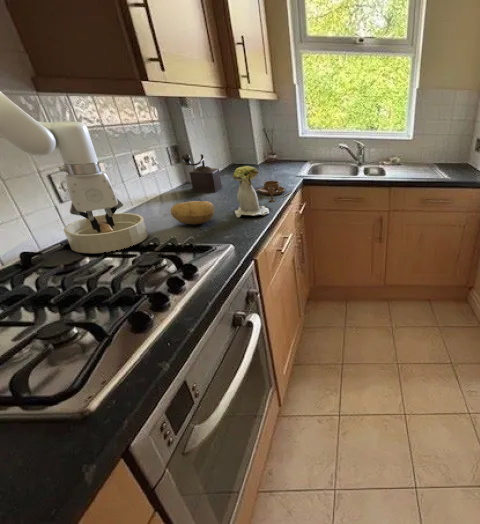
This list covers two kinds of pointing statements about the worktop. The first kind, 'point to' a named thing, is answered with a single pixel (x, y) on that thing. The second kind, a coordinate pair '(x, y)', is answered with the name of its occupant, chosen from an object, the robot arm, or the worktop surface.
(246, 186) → the vase of yellow flowers
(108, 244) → the bowl
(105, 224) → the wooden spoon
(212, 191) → the coffee grinder
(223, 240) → the worktop surface
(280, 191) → the place setting
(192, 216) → the potato
